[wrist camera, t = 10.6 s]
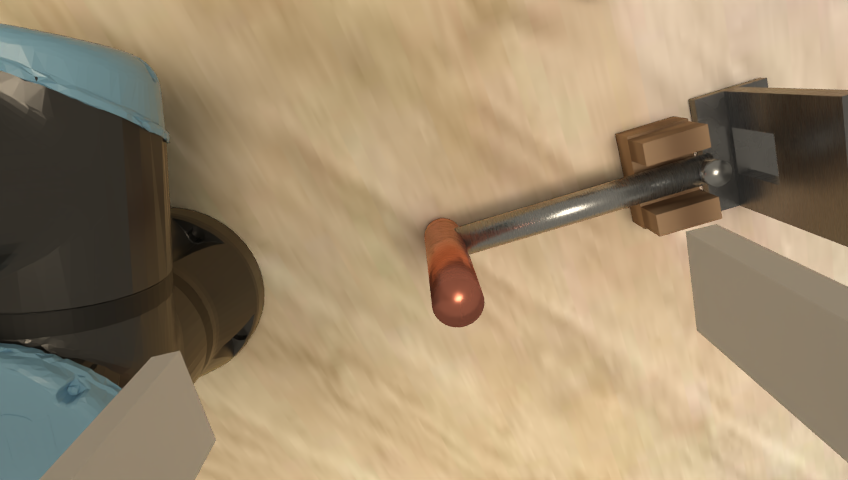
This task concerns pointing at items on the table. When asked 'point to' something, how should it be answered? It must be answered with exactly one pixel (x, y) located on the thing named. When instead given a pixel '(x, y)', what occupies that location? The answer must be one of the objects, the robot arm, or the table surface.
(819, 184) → the eye bracket
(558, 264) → the table surface
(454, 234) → the hook
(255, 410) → the table surface
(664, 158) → the cradle
